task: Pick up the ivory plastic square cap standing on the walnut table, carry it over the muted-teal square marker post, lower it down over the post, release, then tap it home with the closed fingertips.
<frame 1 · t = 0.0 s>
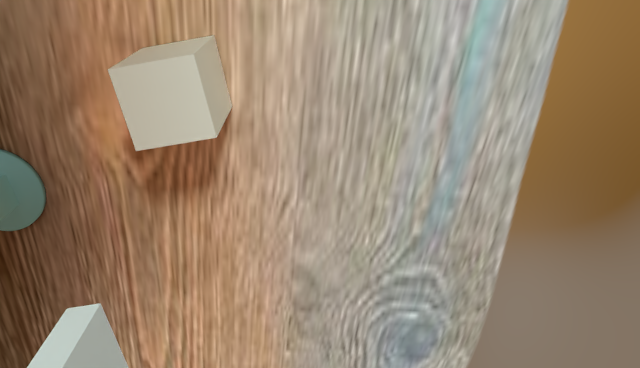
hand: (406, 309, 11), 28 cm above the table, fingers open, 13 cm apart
cap: (188, 78, 37), on the table
post: (0, 189, 41), on the table
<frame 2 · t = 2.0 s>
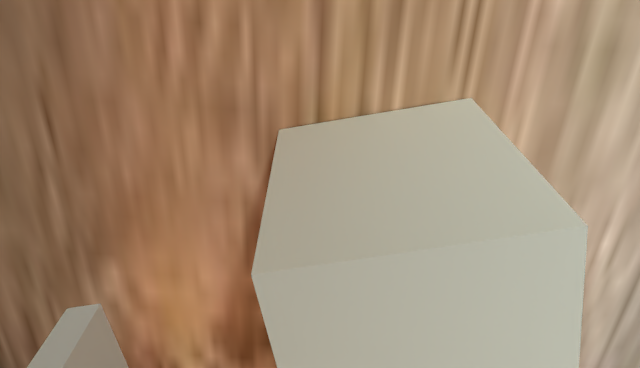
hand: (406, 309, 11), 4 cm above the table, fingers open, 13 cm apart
cap: (385, 198, 15), on the table
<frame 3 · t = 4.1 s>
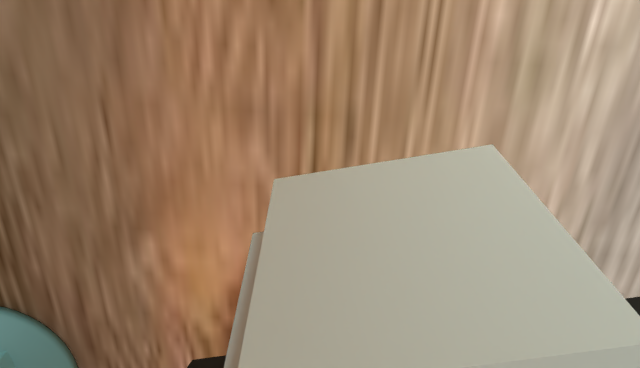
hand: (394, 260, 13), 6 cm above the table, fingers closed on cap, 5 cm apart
cap: (393, 254, 13), point 6 cm above the table, touching gripper
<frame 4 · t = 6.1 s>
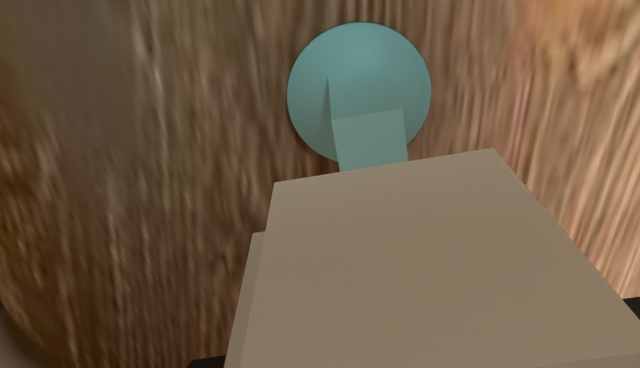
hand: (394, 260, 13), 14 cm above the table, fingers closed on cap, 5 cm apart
cap: (394, 257, 13), point 14 cm above the table, touching gripper
post: (358, 95, 26), on the table
when the fingers open (1 cm above the table, at t = 8.4 s): cap stays where it is, resting on post.
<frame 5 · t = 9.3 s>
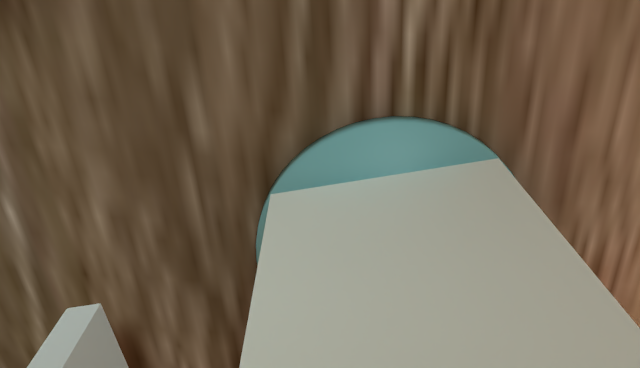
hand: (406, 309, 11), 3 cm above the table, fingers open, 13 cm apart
cap: (395, 270, 13), point 1 cm above the table, touching post
post: (390, 243, 14), on the table
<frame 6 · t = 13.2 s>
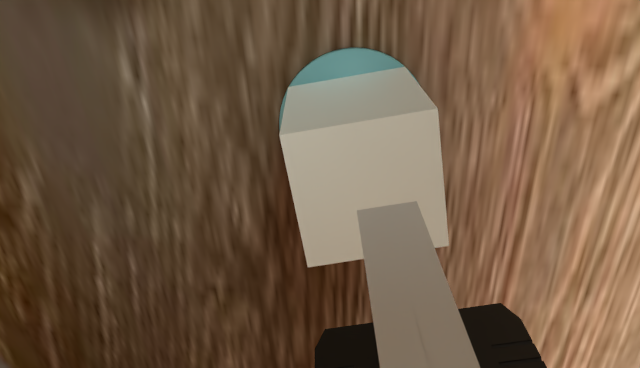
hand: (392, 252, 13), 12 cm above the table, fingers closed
cap: (354, 132, 24), point 1 cm above the table, touching post
post: (353, 122, 25), on the table
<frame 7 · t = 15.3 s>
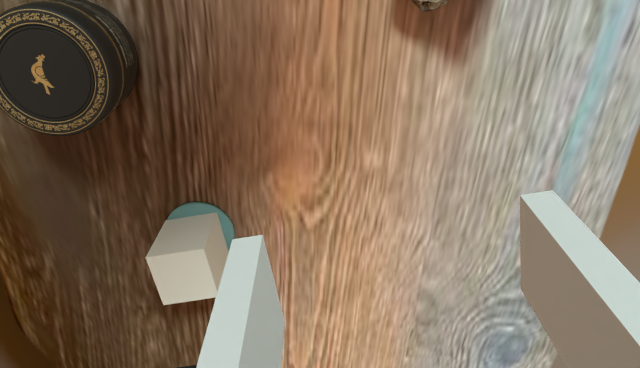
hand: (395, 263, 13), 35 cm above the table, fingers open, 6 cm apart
jar: (87, 53, 45), on the table
cap: (198, 238, 52), point 1 cm above the table, touching post
post: (200, 232, 53), on the table
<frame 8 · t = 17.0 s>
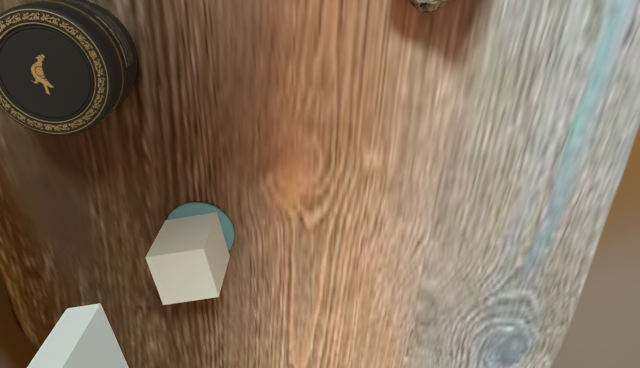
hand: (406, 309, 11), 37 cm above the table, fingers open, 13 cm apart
jar: (87, 53, 45), on the table
cap: (198, 238, 52), point 1 cm above the table, touching post
post: (200, 232, 53), on the table
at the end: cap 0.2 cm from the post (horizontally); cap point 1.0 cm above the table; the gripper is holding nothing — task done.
